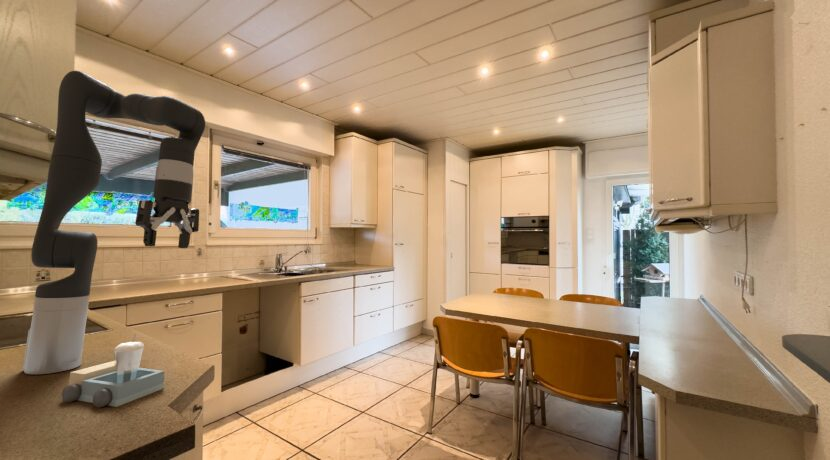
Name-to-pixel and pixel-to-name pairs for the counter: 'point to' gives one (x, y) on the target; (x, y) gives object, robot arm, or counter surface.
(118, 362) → the milkshake
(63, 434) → the counter surface
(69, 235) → the robot arm
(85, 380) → the chassis
